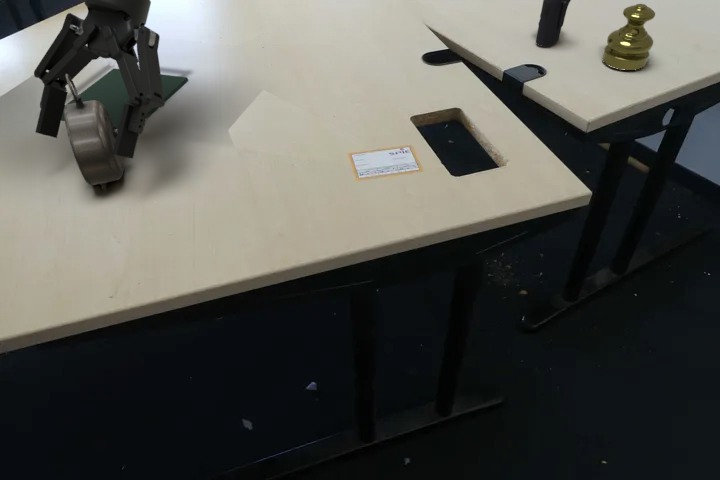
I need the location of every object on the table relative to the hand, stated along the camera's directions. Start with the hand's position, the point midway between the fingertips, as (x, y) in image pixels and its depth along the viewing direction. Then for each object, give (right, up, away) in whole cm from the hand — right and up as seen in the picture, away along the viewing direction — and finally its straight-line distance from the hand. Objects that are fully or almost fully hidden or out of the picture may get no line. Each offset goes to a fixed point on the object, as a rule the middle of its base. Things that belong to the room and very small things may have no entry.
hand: (83, 145), depth 70 cm
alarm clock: (+1, -4, +7) cm, 8 cm away
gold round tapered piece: (+84, +19, +25) cm, 90 cm away
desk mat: (-5, +12, +23) cm, 27 cm away
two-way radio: (+73, +25, +32) cm, 83 cm away
